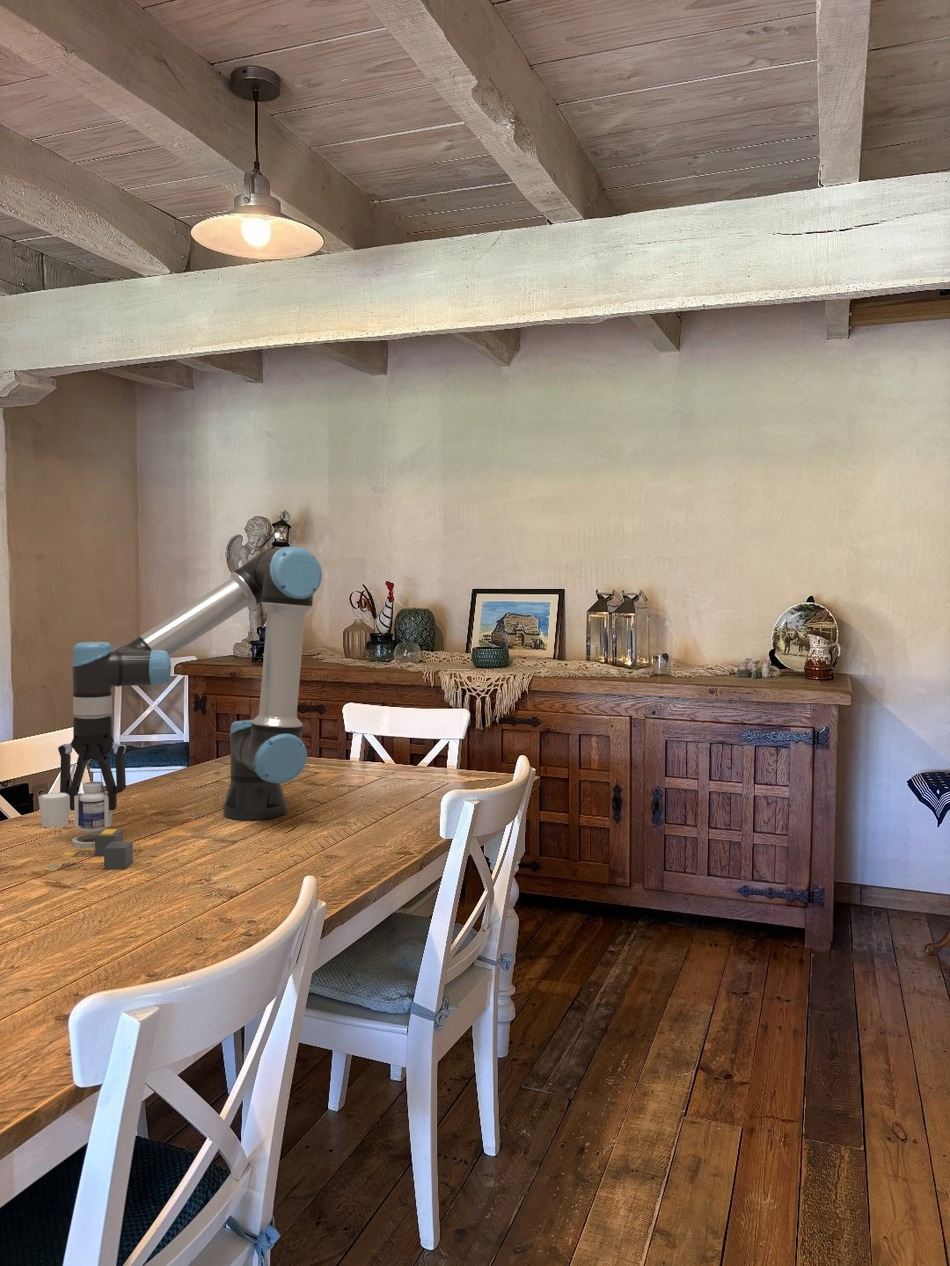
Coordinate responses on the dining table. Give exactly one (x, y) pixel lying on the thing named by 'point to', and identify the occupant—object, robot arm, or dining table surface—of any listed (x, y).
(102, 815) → the pill bottle
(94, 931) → the dining table surface
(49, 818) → the grey cup
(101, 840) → the tagged breaker
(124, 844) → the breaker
